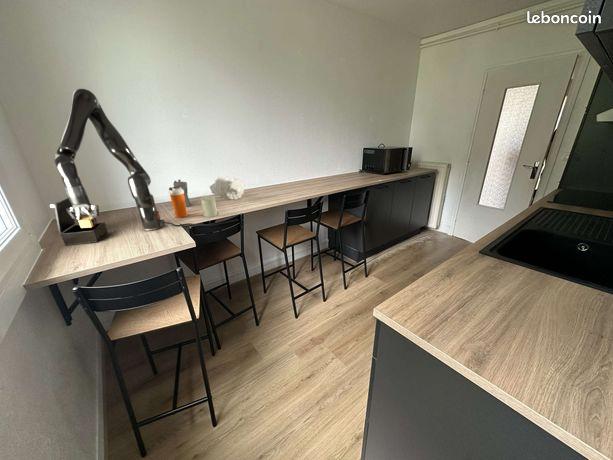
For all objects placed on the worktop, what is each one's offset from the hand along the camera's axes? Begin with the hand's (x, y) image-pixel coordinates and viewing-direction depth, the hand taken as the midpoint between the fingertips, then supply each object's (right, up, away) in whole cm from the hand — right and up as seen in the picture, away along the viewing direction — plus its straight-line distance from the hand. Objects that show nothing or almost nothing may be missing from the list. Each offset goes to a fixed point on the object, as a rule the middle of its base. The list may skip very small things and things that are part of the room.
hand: (89, 224), depth 135 cm
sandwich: (0, 0, 0) cm, 0 cm away
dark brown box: (-3, -8, +3) cm, 9 cm away
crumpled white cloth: (+53, +23, +73) cm, 93 cm away
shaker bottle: (+32, +7, +35) cm, 48 cm away
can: (+51, +8, +37) cm, 64 cm away
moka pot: (+24, +16, +56) cm, 63 cm away
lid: (-8, +5, -4) cm, 11 cm away
